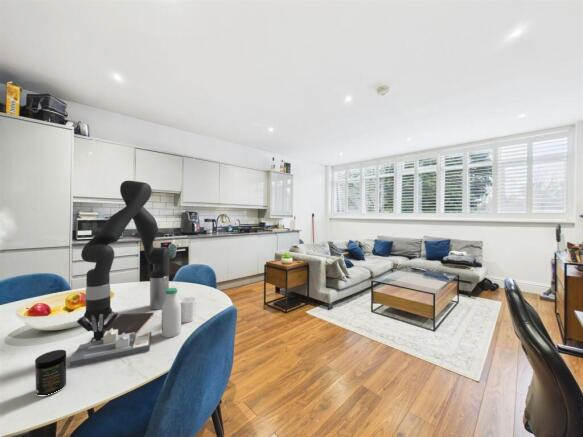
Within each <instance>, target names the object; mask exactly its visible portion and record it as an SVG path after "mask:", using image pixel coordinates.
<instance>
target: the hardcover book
mask: <svg viewBox="0 0 583 437" xmlns="http://www.w3.org/2000/svg"><path fill="white" fill-rule="evenodd" d="M154 314H155V312H141V313H140V312H139V313H138V312H137V313H135V312H134V313H121V314H118V315H117V317H116V318H115V320H114V321H113V322H112V323H111V324H110V325H109V327H108V328H105V329H104V334H105V332H106V331H110V329H112V328H113V330H116V329H118V335H122V333H125V334H128V333H133V332H135V335H136V334H140V331H142V329H144V327H145V326H146V325H147V324H148V323H149V322H150V320H151V319H152V318H153V317H154ZM93 339H94V336H93V337H92V338H91V342H90V343H92V342H93Z"/></svg>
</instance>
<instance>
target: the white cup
mask: <svg viewBox="0 0 583 437" xmlns="http://www.w3.org/2000/svg"><path fill="white" fill-rule="evenodd" d="M178 300H179V302H180V305H181V323H190V322H192V321H194V320H195V317H196V315H195V314H196V303H197V302H196V301H197V299H196V297H192V296H190V297H189V296H188V297H183V298H179V299H178Z"/></svg>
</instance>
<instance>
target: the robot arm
mask: <svg viewBox="0 0 583 437" xmlns="http://www.w3.org/2000/svg"><path fill="white" fill-rule="evenodd" d="M119 192H120V195H121V198H122V200H123V202H124V204H125V205H126V206H125V207H123V208H122V209H120V210H119V211H116V213H114V214H112V215H111V216H110V217H109V218H108V219H107V220H106V222H105V223H104V225H103V226H102V227H101V229H100V231H99V232H98V233H97V234H95V236H93V237H92V238H91V239H90V240H89V241H88V242H87V243H86V244H85V245H84V247H83V248H82V250H81V252H80V253H81V254H80V255H81V259H82V260H83V261H84V262H86V263H93V264H95V265H94V268H91V269H89V270H88V271H87V272H86V279H85V280H86V288H85V294H84V295H85V296H84V297H85V312H84V314H83V316H81V317H79V318H78V319H77V322H76V323H77V324H79V325H80V326H81V327H82V328H84V329H85V330H86V331H87V332H93V337H94V340H95V339H96V341H98V340H101V338H103V336H104V329H105V328H108V327H109V325H110V324H111V323H112V322H113V321H114V320H115V319H116V318H117V317H118V316H119V313H118V312H115V311H113V309H112V307H111V285H110V278H111V276H110V272H111V269H112V266H113V263H114V259H115V251H114V248H113V247H112V246H111V245H110V244H115V243H116V242H118V241H119V239H120V238H121V236H122V234H124V231H125V230H126V228H127V226H128V225H129V223H130V222H131V221H132V220H133V223H134V225H135V228H136V231H137V233H138V235H139V239H140V240H141V243H142V246H143V250H144V255H145V259H146V261H147V263H148V264H150V265H160V267H159V268H156V269H154V270H152V271H151V272H150V273H149V308H150V309H151V310H162V307H163V304H164V302H165V299H166V289H169V288H170V287H169V286H170V285H169V284H170V281H169V280H170V279H169V277H170V275H169V274H170V261H171V260H170V259H171V252H170V249H169V248H168V247H155V246H154V241H155V239H156V238H157V236H158V233H159V226H158V222H157V221H156V219H155V217H154V216H153V214H152V213H150V212H149V211H148V209H146V208H145V207H144V206H145V205H146V204H147V202H149V200H150V198H151V196H152V187H151V185H150V184H149V183H148V182H144V181H138V180H137V181H135V180H125V181H123V182H122V183H121V184H120V187H119ZM108 317H109V320H108V321H107V322H106V323H105V321H106V320H107V319H108ZM87 320H88V321H87Z"/></svg>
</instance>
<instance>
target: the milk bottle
mask: <svg viewBox="0 0 583 437" xmlns="http://www.w3.org/2000/svg"><path fill="white" fill-rule="evenodd" d="M179 300H180V299H179V298H178V288H177V287H169V289H166V299H165V302H164V304H163V307H162V309H161V336H162V337H163V338H172V337H173V338H174V337H176V336H179V335H180V333H182V332H181V331H182V322H181V305H180V302H179Z"/></svg>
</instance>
